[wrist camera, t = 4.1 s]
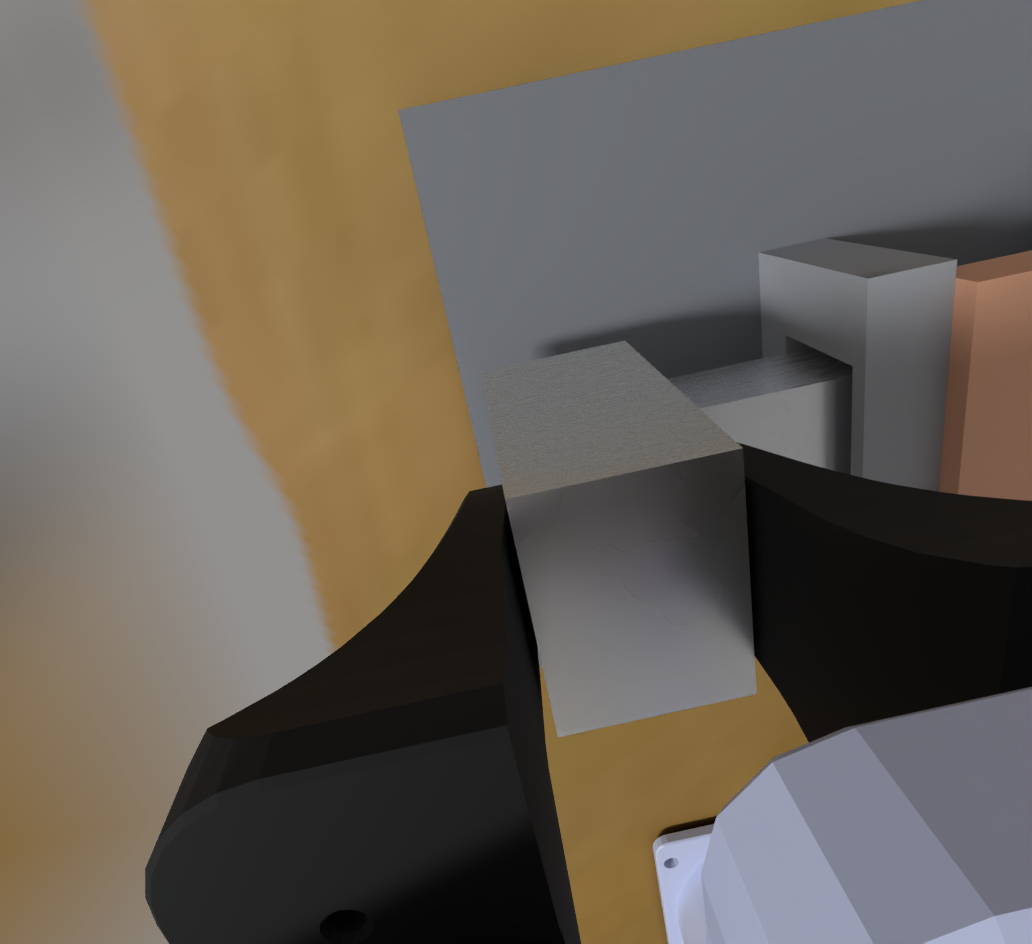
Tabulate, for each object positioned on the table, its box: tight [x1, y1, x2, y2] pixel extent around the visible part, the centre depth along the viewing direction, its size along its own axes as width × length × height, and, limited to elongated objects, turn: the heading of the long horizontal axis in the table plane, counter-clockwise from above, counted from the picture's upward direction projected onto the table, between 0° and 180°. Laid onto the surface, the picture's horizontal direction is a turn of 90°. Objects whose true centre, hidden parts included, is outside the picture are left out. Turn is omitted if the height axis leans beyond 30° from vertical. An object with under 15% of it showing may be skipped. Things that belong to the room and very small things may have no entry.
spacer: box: [939, 250, 1032, 501], centre depth 13 cm, size 5×4×3 cm
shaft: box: [482, 341, 853, 737], centre depth 12 cm, size 4×13×6 cm, turn 101°
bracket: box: [399, 0, 1032, 666], centre depth 15 cm, size 14×16×5 cm
